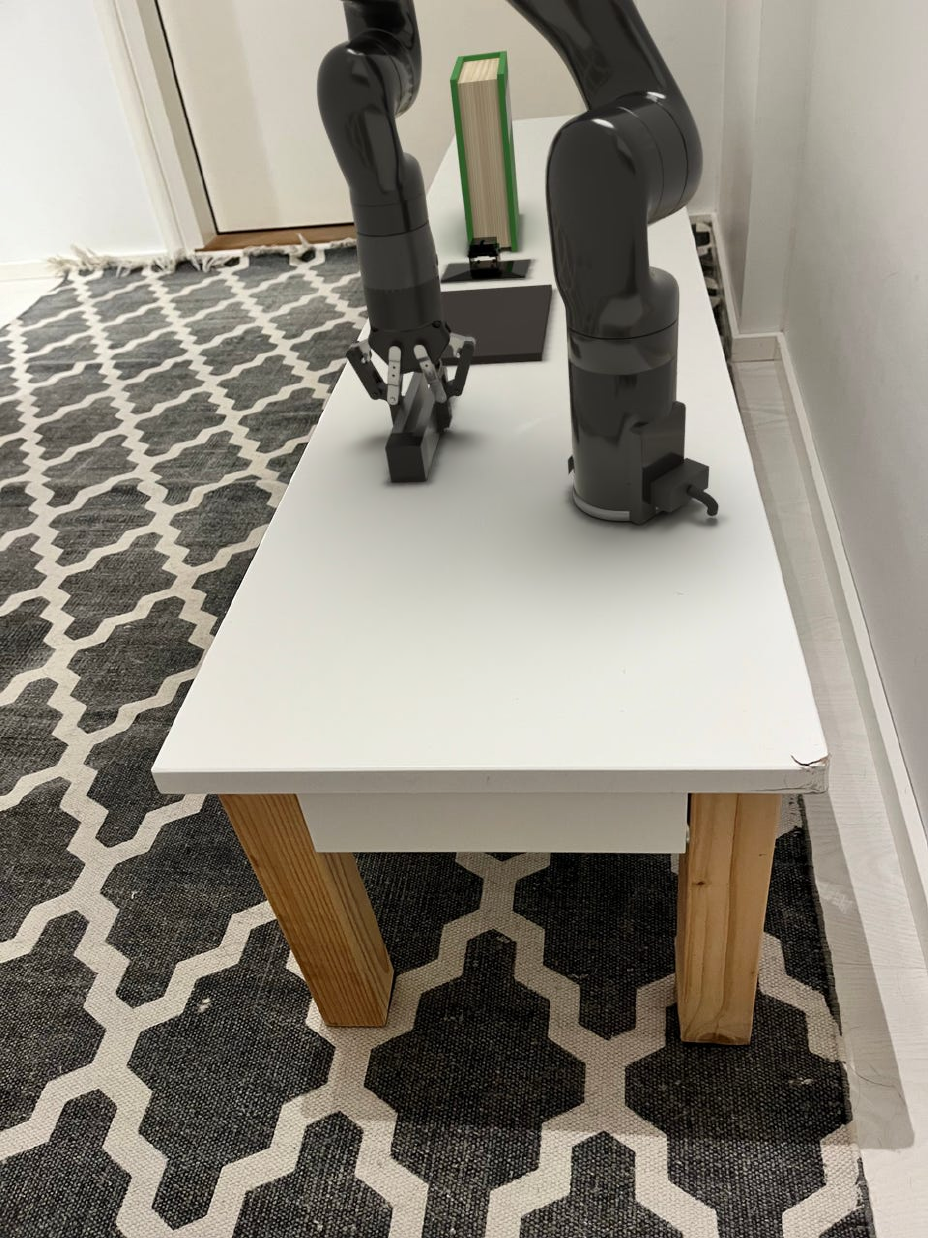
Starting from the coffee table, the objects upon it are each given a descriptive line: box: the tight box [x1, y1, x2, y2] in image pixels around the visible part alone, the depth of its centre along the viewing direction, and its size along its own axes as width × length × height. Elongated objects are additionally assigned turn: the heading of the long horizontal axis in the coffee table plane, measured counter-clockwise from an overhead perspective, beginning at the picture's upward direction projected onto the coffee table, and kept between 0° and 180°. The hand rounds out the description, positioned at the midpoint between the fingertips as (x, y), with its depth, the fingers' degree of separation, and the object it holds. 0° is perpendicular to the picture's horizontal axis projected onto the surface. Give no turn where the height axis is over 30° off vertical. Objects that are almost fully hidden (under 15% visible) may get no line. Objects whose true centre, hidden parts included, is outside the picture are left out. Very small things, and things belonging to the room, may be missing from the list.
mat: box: [440, 283, 553, 366], centre depth 125 cm, size 22×16×1 cm
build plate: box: [439, 236, 532, 284], centre depth 139 cm, size 12×7×5 cm, turn 80°
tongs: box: [384, 365, 452, 483], centre depth 102 cm, size 18×4×4 cm, turn 173°
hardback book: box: [449, 50, 520, 253], centre depth 146 cm, size 18×7×24 cm, turn 177°
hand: (424, 429), depth 104 cm, fingers closed on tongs, 3 cm apart
